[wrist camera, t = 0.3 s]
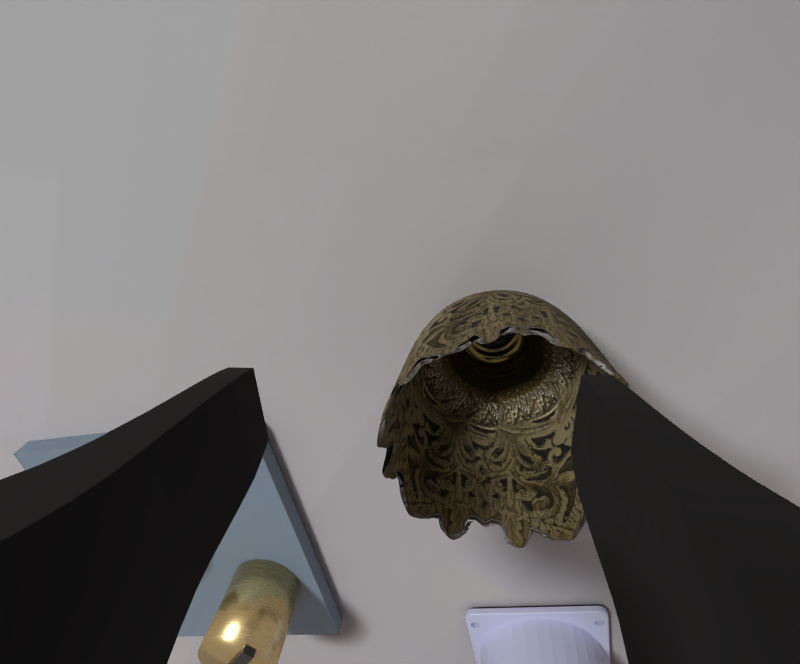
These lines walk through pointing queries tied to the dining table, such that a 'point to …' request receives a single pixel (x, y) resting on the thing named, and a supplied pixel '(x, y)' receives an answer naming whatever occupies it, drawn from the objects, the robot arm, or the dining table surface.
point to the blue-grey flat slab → (243, 545)
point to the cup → (491, 418)
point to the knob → (252, 615)
